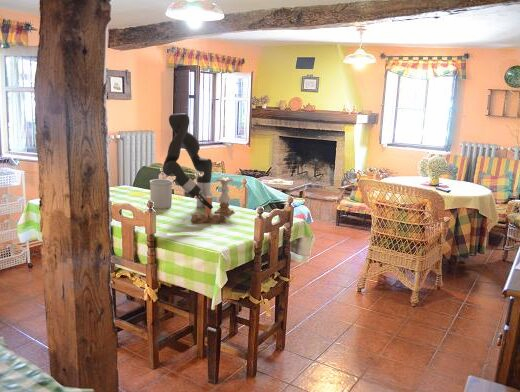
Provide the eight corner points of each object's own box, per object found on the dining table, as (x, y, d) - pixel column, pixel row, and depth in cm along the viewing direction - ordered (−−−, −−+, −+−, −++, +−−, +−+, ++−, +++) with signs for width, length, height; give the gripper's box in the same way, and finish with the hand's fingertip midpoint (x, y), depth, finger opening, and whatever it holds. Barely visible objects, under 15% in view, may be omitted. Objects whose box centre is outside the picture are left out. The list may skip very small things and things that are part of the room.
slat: (204, 219, 278) (206, 197, 275) (204, 219, 280) (206, 196, 277) (210, 220, 279) (212, 197, 276) (210, 219, 280) (212, 196, 278)
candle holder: (235, 214, 300) (236, 178, 295) (228, 218, 290) (229, 180, 285) (219, 212, 304) (220, 176, 299) (212, 216, 294) (213, 179, 289)
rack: (191, 226, 270) (191, 218, 269) (190, 221, 280) (190, 214, 280) (226, 225, 274) (226, 218, 273) (223, 220, 284) (224, 213, 283)
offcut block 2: (209, 222, 274) (209, 215, 273) (209, 221, 277) (209, 213, 276) (219, 222, 275) (219, 214, 274) (219, 221, 278) (219, 213, 277)
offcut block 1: (197, 222, 273) (197, 215, 272) (197, 221, 275) (197, 213, 274) (207, 222, 274) (207, 215, 273) (207, 221, 277) (207, 213, 276)
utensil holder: (175, 208, 313) (175, 182, 309) (152, 209, 306) (152, 183, 302) (169, 203, 325) (169, 178, 322) (147, 204, 319) (147, 179, 315)
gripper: (196, 185, 267) (217, 206, 272) (195, 181, 280) (215, 201, 285) (187, 194, 267) (208, 215, 272) (186, 190, 280) (206, 209, 285)
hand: (211, 207), depth 278 cm, fingers closed on slat, 1 cm apart
